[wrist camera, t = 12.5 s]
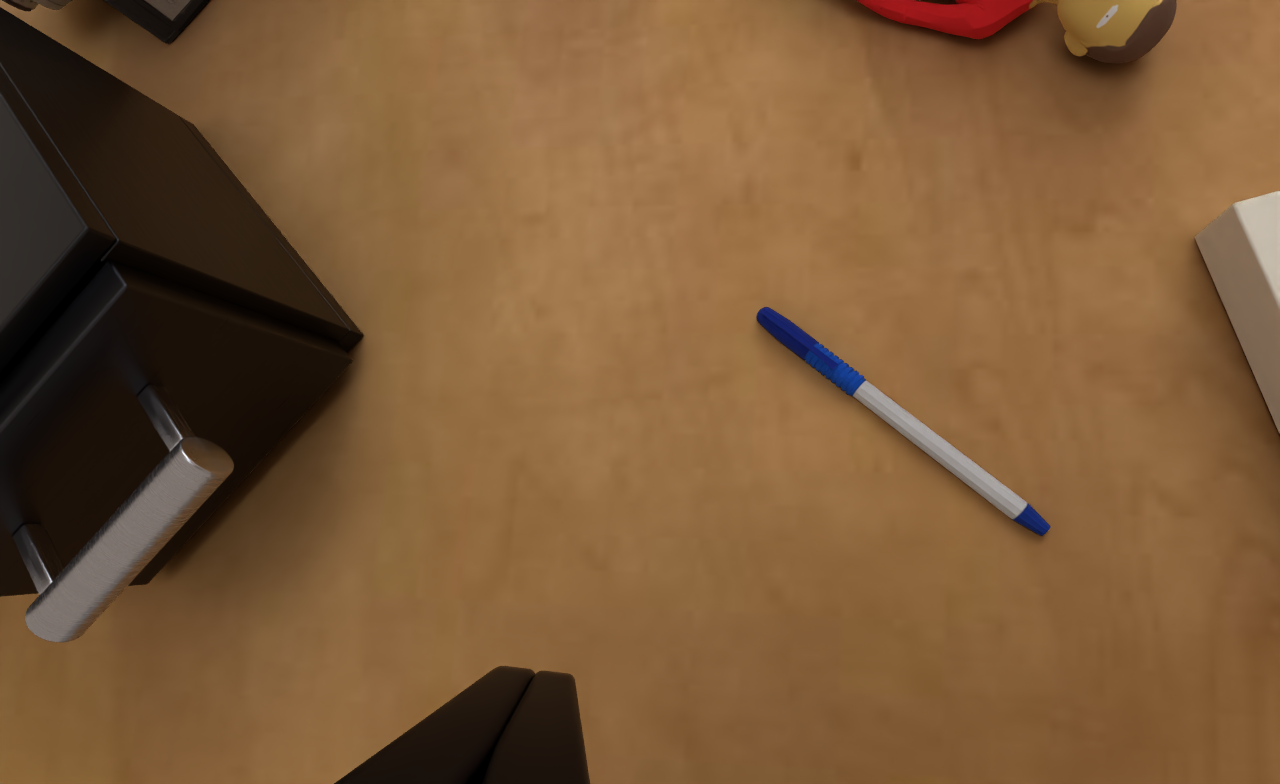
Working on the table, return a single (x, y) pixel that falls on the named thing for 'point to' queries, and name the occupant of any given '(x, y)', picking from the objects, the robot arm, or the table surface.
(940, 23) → the person figure
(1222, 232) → the button block
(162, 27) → the camera
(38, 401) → the drawer
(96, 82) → the black cabinet
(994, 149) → the table surface
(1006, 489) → the ballpoint pen
